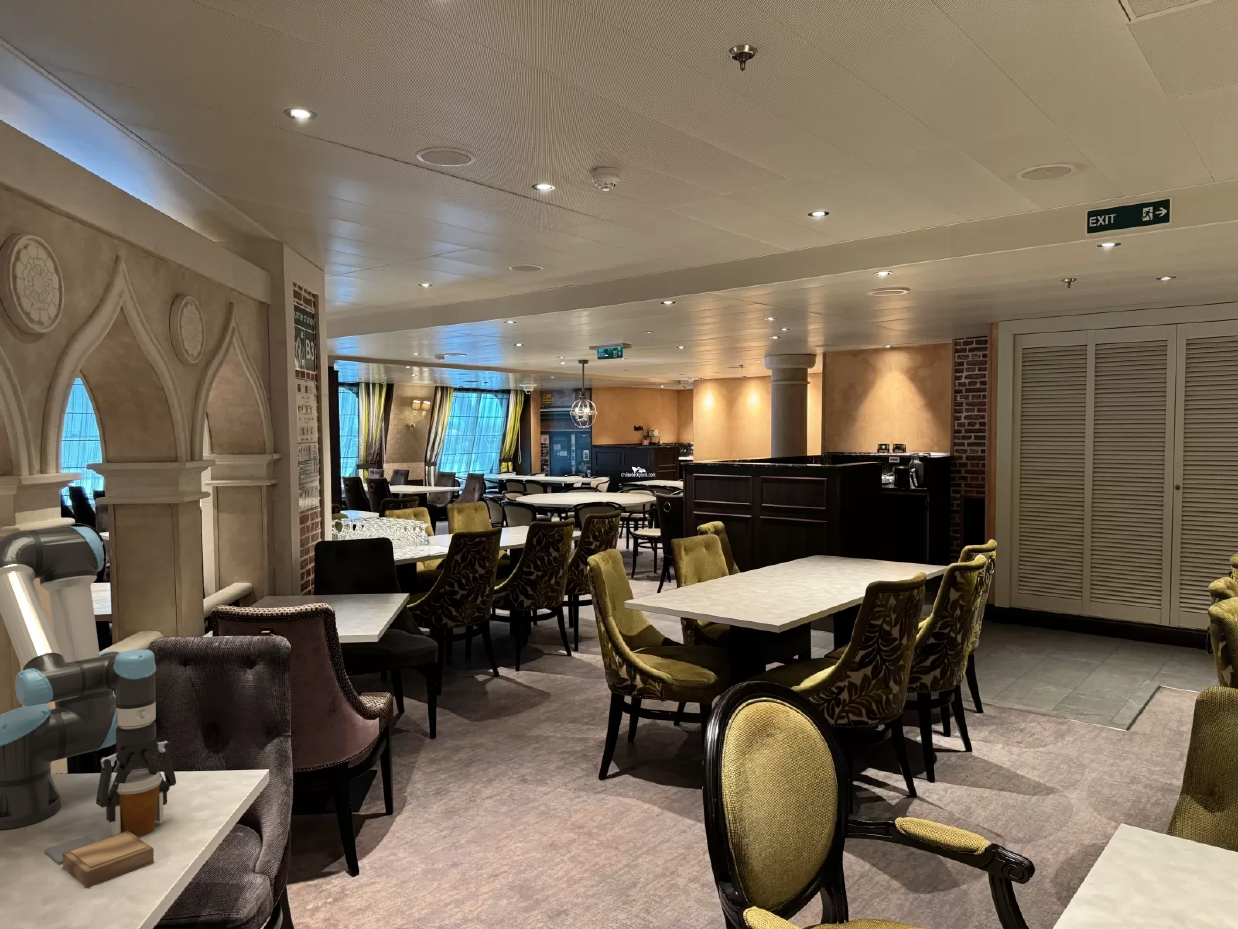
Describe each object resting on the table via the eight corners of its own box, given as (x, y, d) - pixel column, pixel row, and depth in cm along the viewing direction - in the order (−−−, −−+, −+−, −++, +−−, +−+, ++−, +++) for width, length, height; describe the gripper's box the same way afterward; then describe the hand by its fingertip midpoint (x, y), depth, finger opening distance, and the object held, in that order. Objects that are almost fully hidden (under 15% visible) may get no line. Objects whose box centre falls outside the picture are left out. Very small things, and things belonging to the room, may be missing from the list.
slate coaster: (44, 852, 174) (44, 849, 174) (87, 838, 180) (87, 835, 180) (59, 864, 169) (59, 861, 169) (103, 849, 175) (103, 846, 175)
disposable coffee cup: (140, 843, 178) (139, 787, 178) (101, 839, 180) (100, 783, 180) (173, 823, 187) (172, 769, 187) (135, 819, 189) (134, 766, 189)
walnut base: (62, 867, 168) (62, 851, 168) (128, 845, 177) (127, 829, 177) (87, 887, 161) (86, 870, 160) (153, 862, 170) (153, 846, 170)
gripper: (89, 741, 172) (91, 851, 173) (193, 714, 189) (194, 815, 189) (74, 733, 177) (77, 840, 178) (177, 708, 193) (179, 806, 194)
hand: (137, 827), depth 184 cm, fingers closed on disposable coffee cup, 8 cm apart
